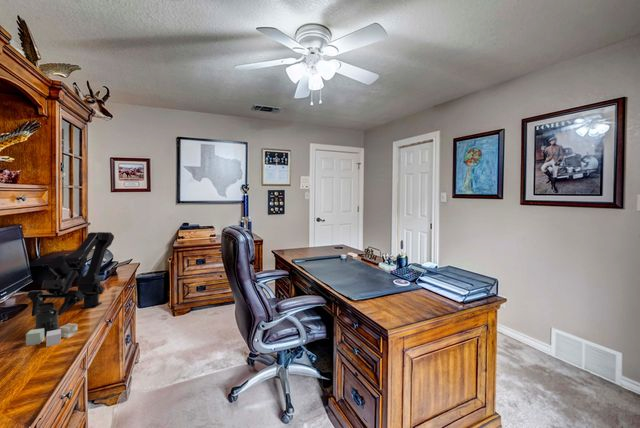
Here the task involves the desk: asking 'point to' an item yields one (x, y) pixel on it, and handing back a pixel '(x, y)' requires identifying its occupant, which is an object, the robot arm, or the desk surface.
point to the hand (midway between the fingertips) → (45, 315)
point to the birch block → (68, 330)
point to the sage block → (34, 337)
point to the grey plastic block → (53, 337)
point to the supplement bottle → (46, 317)
